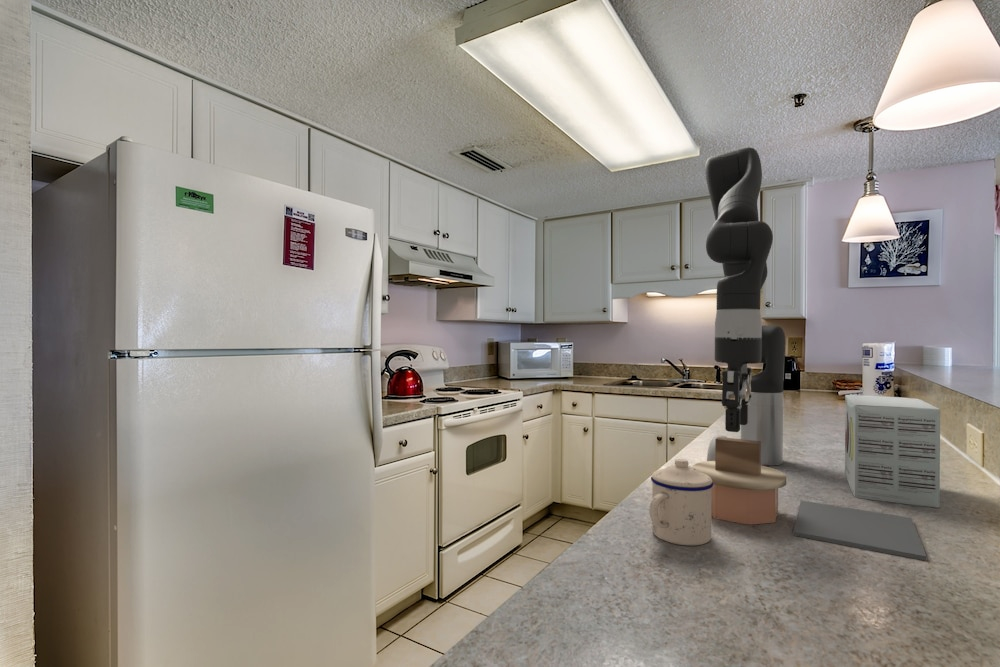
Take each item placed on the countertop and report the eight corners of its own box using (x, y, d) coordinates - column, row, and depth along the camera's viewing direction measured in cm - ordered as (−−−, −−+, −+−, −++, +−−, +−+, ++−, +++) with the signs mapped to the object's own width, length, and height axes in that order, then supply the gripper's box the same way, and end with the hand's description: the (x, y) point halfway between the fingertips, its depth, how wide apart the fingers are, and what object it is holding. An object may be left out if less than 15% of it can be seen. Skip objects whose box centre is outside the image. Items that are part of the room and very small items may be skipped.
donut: (722, 489, 103) (722, 439, 103) (704, 486, 105) (704, 437, 105) (734, 478, 111) (734, 432, 111) (717, 475, 113) (717, 430, 113)
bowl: (708, 496, 99) (708, 464, 99) (780, 508, 92) (780, 474, 92) (693, 514, 89) (693, 479, 89) (772, 529, 82) (773, 491, 82)
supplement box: (842, 476, 114) (843, 394, 114) (919, 484, 108) (919, 398, 108) (852, 497, 99) (853, 403, 99) (942, 509, 92) (942, 408, 92)
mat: (800, 503, 95) (800, 500, 95) (911, 521, 86) (911, 517, 86) (793, 535, 80) (793, 531, 80) (926, 560, 71) (926, 556, 71)
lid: (702, 462, 101) (702, 429, 101) (789, 474, 93) (790, 437, 93) (683, 480, 89) (683, 442, 89) (782, 495, 80) (782, 454, 80)
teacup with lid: (672, 520, 86) (673, 450, 86) (724, 537, 79) (725, 461, 79) (626, 537, 79) (626, 461, 79) (679, 557, 72) (679, 474, 72)
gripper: (722, 335, 99) (721, 420, 99) (706, 335, 87) (705, 431, 87) (766, 336, 95) (765, 424, 95) (755, 335, 83) (754, 436, 83)
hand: (736, 427), depth 91 cm, fingers open, 8 cm apart
